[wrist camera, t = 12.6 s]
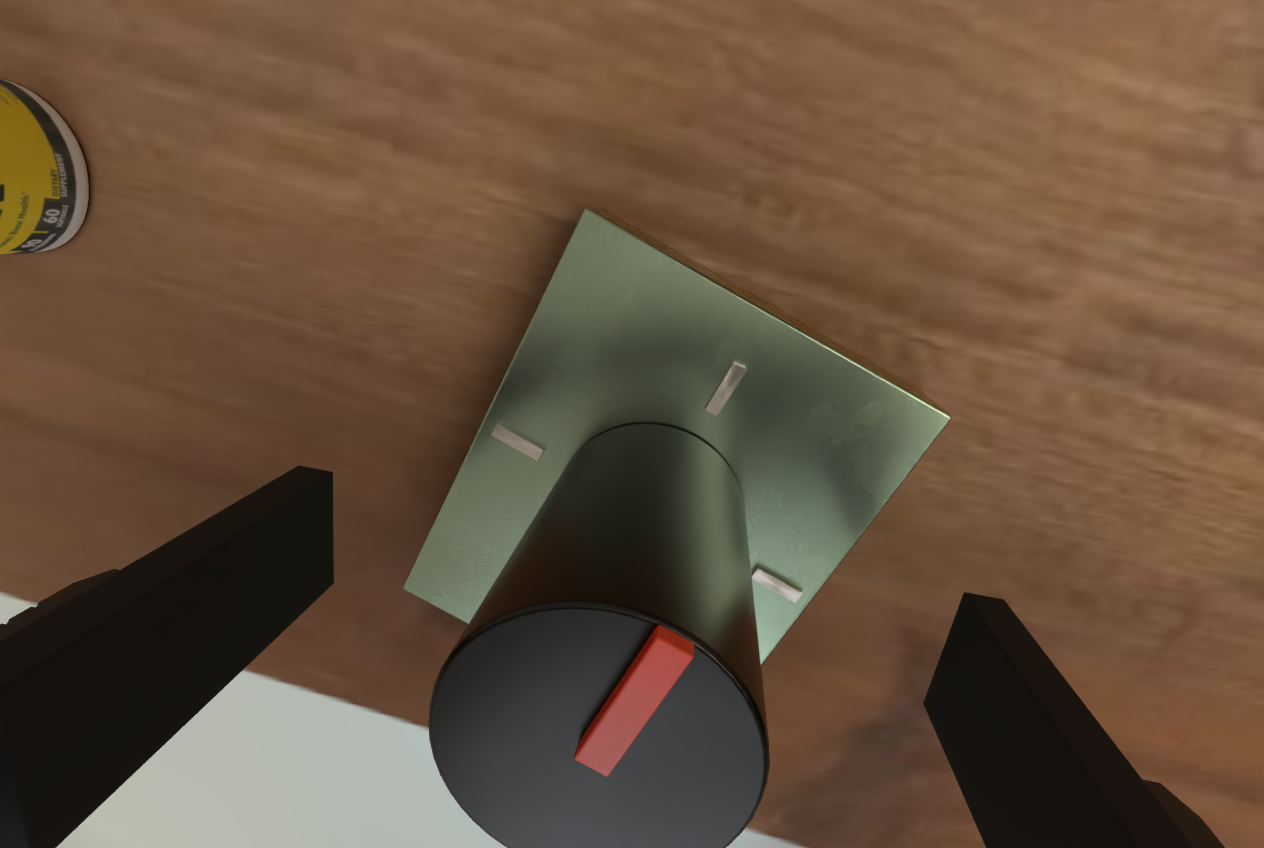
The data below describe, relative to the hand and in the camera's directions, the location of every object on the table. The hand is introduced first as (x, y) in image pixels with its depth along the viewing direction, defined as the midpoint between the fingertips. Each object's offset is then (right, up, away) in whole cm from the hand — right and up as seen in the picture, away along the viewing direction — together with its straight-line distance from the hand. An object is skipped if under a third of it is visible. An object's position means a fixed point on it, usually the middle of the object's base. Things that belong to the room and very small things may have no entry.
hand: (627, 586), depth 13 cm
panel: (+1, +2, +6) cm, 6 cm away
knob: (0, +1, +3) cm, 4 cm away
